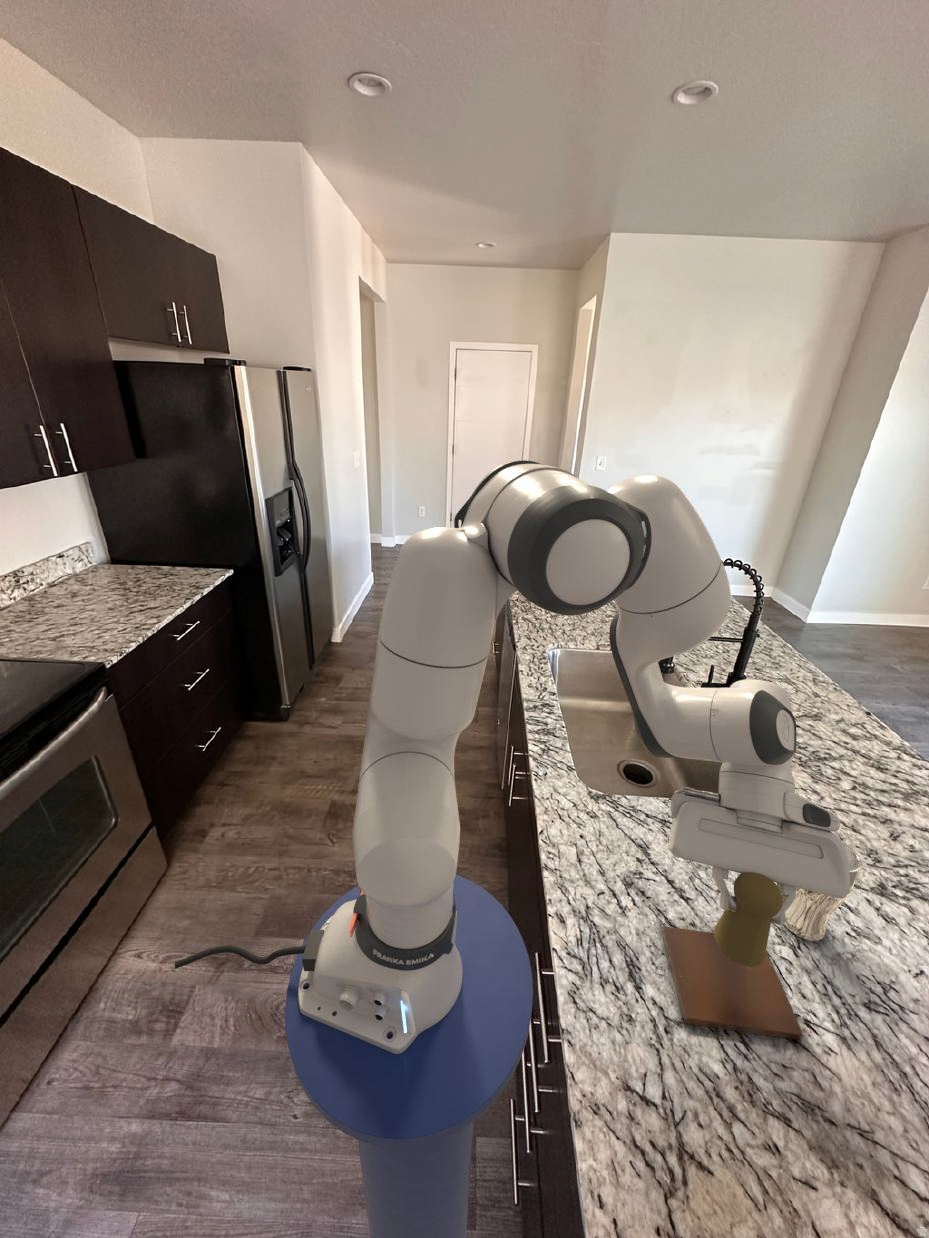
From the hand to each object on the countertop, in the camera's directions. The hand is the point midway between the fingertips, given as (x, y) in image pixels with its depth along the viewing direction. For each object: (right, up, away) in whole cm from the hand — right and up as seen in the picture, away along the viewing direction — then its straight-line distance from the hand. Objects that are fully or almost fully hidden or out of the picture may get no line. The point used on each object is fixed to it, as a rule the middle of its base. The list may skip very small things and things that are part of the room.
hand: (751, 916), depth 61 cm
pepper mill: (0, -5, +3) cm, 6 cm away
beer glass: (+16, -10, +14) cm, 23 cm away
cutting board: (0, -13, +6) cm, 14 cm away
